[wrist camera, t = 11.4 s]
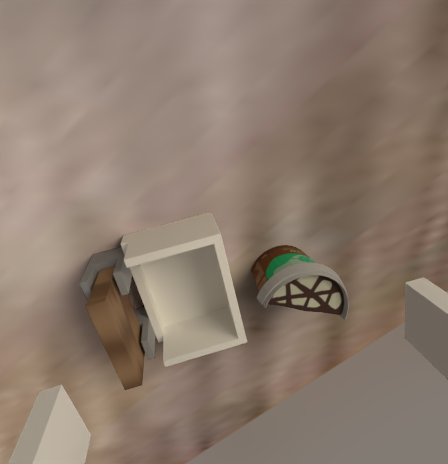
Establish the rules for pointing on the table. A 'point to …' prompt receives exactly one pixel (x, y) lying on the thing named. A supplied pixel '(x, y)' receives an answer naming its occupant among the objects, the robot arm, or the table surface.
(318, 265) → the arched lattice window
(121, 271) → the carcass
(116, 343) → the door
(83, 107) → the table surface
